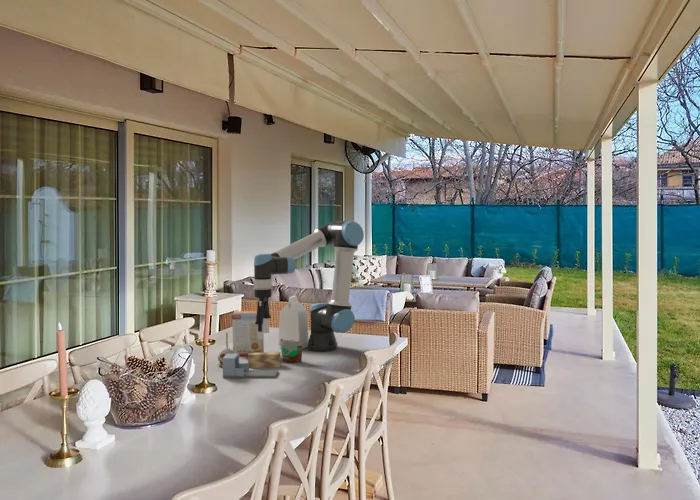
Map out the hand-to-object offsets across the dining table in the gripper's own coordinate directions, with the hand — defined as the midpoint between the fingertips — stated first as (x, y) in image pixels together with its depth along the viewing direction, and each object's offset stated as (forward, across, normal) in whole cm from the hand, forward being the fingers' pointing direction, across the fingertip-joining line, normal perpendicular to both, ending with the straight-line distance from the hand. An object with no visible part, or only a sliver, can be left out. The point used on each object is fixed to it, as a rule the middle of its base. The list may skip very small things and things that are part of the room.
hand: (263, 335), depth 274 cm
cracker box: (+14, -23, -12) cm, 30 cm away
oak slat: (+14, 0, 0) cm, 14 cm away
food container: (+14, -8, +10) cm, 19 cm away
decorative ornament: (+14, -1, -17) cm, 22 cm away
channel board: (+14, +15, -3) cm, 20 cm away
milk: (+14, -39, +8) cm, 42 cm away
